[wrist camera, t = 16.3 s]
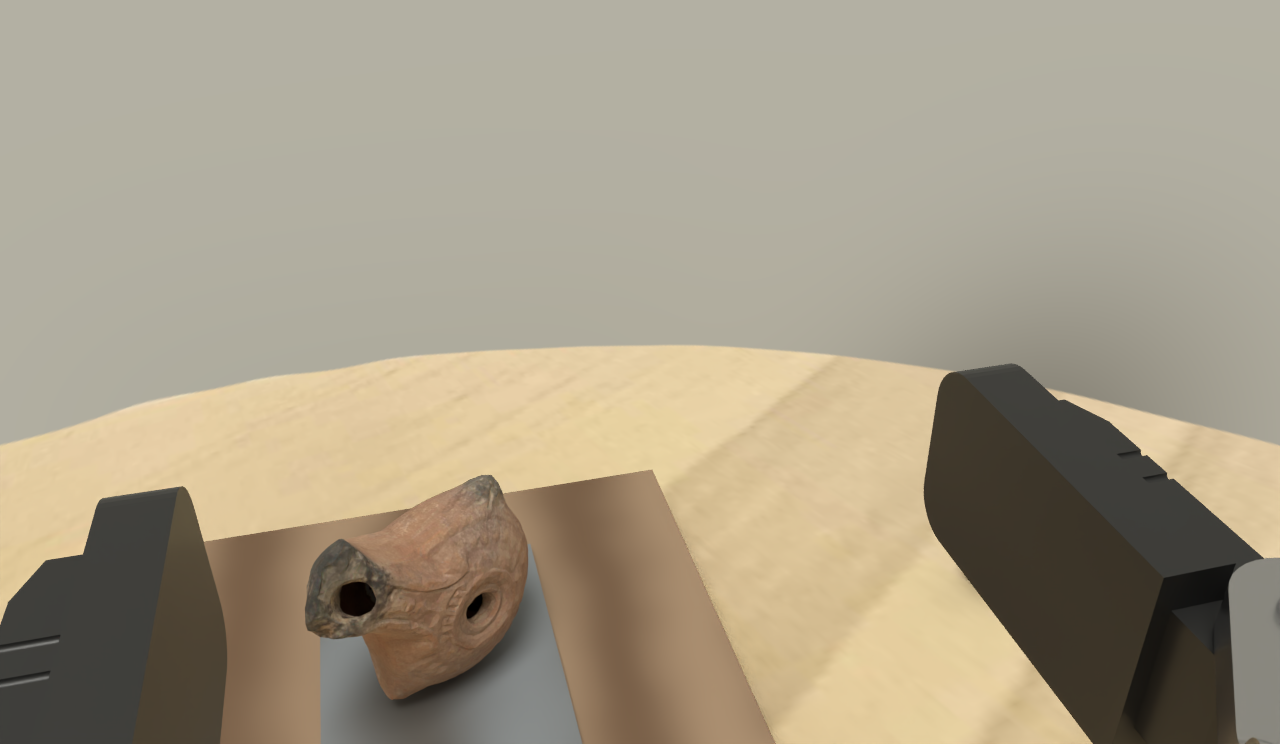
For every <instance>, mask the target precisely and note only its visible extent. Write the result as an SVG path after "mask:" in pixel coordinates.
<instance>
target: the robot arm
mask: <svg viewBox="0 0 1280 744" xmlns="http://www.w3.org/2000/svg"><path fill="white" fill-rule="evenodd" d="M924 502H925V508H926V512H927V516H928V520H929V523H930V525H931V528H932V530H933V532H934V534H935V536H936V537H937V539H938V540H939V542H940V543H941V544H942V546H943V547H944V548H945V550H946V551H947V552H948V554H949V555H950V556H951V558H952V559H953V560H954V562H955V563H956V564H957V565H958V567H959V568H960V569H961V571H962V572H963V573H964V575H965V576H966V577H967V579H968V580H969V581H970V583H971V584H972V585H973V586H974V588H975V589H976V590H977V592H978V593H979V594H980V596H981V597H982V598H983V600H984V601H985V602H986V604H987V605H988V606H989V608H990V609H991V610H992V611H993V613H994V614H995V615H996V617H997V618H998V619H999V621H1000V622H1001V623H1002V625H1003V626H1004V627H1005V629H1006V630H1007V631H1008V633H1009V634H1010V635H1011V636H1012V638H1013V639H1014V640H1015V642H1016V643H1017V644H1018V646H1019V647H1020V648H1021V650H1022V651H1023V652H1024V654H1025V655H1026V656H1027V657H1028V659H1029V660H1030V661H1031V663H1032V664H1033V665H1034V667H1035V668H1036V669H1037V671H1038V672H1039V673H1040V675H1041V676H1042V677H1043V679H1044V680H1045V681H1046V682H1047V684H1048V685H1049V686H1050V688H1051V689H1052V690H1053V692H1054V693H1055V694H1056V696H1057V697H1058V698H1059V700H1060V701H1061V702H1062V704H1063V705H1064V706H1065V707H1066V709H1067V710H1068V711H1069V713H1070V714H1071V715H1072V717H1073V718H1074V719H1075V721H1076V722H1077V723H1078V725H1079V726H1080V727H1081V729H1082V730H1083V731H1084V732H1085V734H1086V735H1087V736H1088V738H1089V739H1090V740H1091V742H1092V743H1093V744H1280V558H1265V559H1264V558H1263V557H1262V556H1261V555H1259V554H1258V553H1257V552H1256V551H1255V550H1254V549H1253V548H1251V547H1250V546H1249V545H1248V544H1247V543H1246V542H1245V541H1244V540H1242V539H1241V538H1240V537H1239V536H1238V535H1237V534H1236V533H1234V532H1233V531H1232V530H1231V529H1230V528H1229V527H1228V526H1227V525H1225V524H1224V523H1223V522H1222V521H1221V520H1220V519H1219V518H1217V517H1216V516H1215V515H1214V514H1213V513H1212V512H1211V511H1210V510H1208V509H1207V508H1206V507H1205V506H1204V505H1203V504H1202V503H1200V502H1199V501H1198V500H1197V499H1196V498H1195V497H1194V496H1193V495H1191V494H1190V493H1189V492H1188V491H1187V490H1186V489H1185V488H1184V487H1182V486H1181V485H1180V484H1179V483H1178V482H1177V481H1176V480H1174V479H1170V480H1169V479H1168V478H1167V472H1165V471H1164V470H1163V469H1162V468H1161V467H1160V466H1159V465H1157V464H1156V463H1155V462H1154V461H1153V460H1152V459H1151V458H1150V457H1148V456H1147V455H1146V456H1142V455H1141V450H1140V449H1139V448H1138V447H1137V446H1136V445H1135V444H1134V443H1133V442H1131V441H1130V440H1129V439H1128V438H1127V437H1126V436H1125V435H1123V434H1122V433H1121V432H1120V431H1119V430H1118V429H1117V428H1116V427H1114V426H1113V425H1112V424H1111V423H1110V422H1109V421H1107V420H1105V419H1103V418H1101V417H1099V416H1097V415H1095V414H1093V413H1091V412H1089V411H1087V410H1085V409H1082V408H1080V407H1078V406H1076V405H1074V404H1072V403H1070V402H1068V401H1066V400H1059V401H1058V400H1057V399H1056V398H1055V397H1054V396H1053V395H1052V394H1051V393H1049V392H1048V391H1047V390H1046V389H1045V388H1044V387H1043V386H1042V385H1041V384H1040V383H1039V382H1037V381H1036V380H1035V379H1034V378H1033V377H1032V376H1031V375H1030V374H1029V373H1027V372H1026V371H1025V370H1024V369H1023V368H1022V367H1020V366H1018V365H1016V364H1005V365H998V366H992V367H985V368H978V369H972V370H965V371H958V372H952V373H949V374H947V375H946V376H945V377H944V378H943V380H942V382H941V384H940V387H939V391H938V396H937V402H936V409H935V415H934V422H933V428H932V435H931V442H930V448H929V455H928V461H927V468H926V475H925V481H924ZM226 674H227V639H226V630H225V622H224V616H223V611H222V607H221V603H220V599H219V595H218V592H217V588H216V585H215V581H214V577H213V574H212V570H211V567H210V563H209V560H208V556H207V552H206V549H205V545H204V542H203V538H202V535H201V531H200V527H199V524H198V520H197V517H196V513H195V510H194V506H193V503H192V500H191V497H190V495H189V493H188V491H187V490H186V488H185V487H183V486H182V487H175V488H168V489H162V490H155V491H148V492H142V493H135V494H128V495H122V496H115V497H108V498H102V499H101V500H100V501H99V503H98V504H97V507H96V510H95V514H94V517H93V521H92V524H91V528H90V532H89V535H88V539H87V542H86V546H85V549H84V553H83V555H77V556H71V557H64V558H58V559H52V560H46V561H45V562H44V563H43V564H42V565H41V566H40V568H39V569H38V570H37V571H36V572H35V573H34V574H33V575H32V576H31V578H30V579H29V580H28V581H27V582H26V583H25V584H24V585H23V586H22V588H21V589H20V590H19V591H18V592H17V593H16V594H15V595H14V596H13V598H12V599H11V600H10V601H9V602H8V605H7V608H6V610H5V613H4V616H3V619H2V622H1V625H0V744H220V738H221V728H222V717H223V706H224V696H225V685H226Z"/></svg>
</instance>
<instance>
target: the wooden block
mask: <svg viewBox="0 0 1280 744" xmlns="http://www.w3.org/2000/svg"><path fill="white" fill-rule="evenodd" d="M503 496H504V498H505V501H506V503H507V505H508V507H509V508H510V509H511V510H512V512H513V513H514V514H515V516H516V517H517V518H518V520H519V521H520V523H521V526H522V529H523V531H524V533H525V536H526V539H527V545H528V574H527V580H526V584H525V587H524V593H523V598H522V601H521V603H520V604H519V609H518V612H517V614H516V616H515V618H514V619H513V621H512V624H511V626H510V628H509V629H508V631H507V632H506V633H505V635H504V637H503V638H502V640H501V641H500V642H499V643H497V645H496V646H495V647H494V648H493V649H492V651H491V652H490V653H489V654H487V655H486V656H485V657H484V658H483V659H482V660H481V661H480V662H479V663H477V664H476V665H475V666H473V667H472V668H470V669H469V670H467V671H465V672H464V673H462V674H459V675H458V676H456V677H454V678H451V679H448V680H447V681H444V682H441V683H438V684H434V685H431V686H427V687H426V688H424V689H422V690H420V691H418V692H416V693H414V694H412V695H410V696H408V697H406V698H404V699H393V700H391V699H389V698H388V697H387V695H386V694H385V693H384V691H383V689H382V688H381V686H380V684H379V681H378V679H377V676H376V672H375V669H374V665H373V662H372V659H371V656H370V653H369V650H368V647H367V645H366V644H365V641H364V639H363V637H362V636H358V637H348V638H343V639H330V638H323V637H319V636H317V635H316V634H314V633H313V632H311V631H308V630H307V627H306V624H305V605H306V600H307V584H308V581H309V576H310V571H311V568H312V565H313V564H314V562H315V560H316V559H317V558H318V556H319V555H320V554H321V553H322V552H323V551H324V550H325V549H326V548H327V547H328V546H330V545H331V544H333V543H334V542H335V541H337V540H338V539H344V540H345V539H348V538H353V537H358V536H362V535H367V534H372V533H376V532H379V531H381V530H383V529H384V528H386V527H387V526H388V525H390V524H391V523H392V522H393V521H394V520H396V519H397V518H398V517H400V516H401V515H403V514H404V513H406V512H407V511H409V510H410V509H405V510H399V511H393V512H387V513H380V514H374V515H368V516H362V517H355V518H349V519H343V520H337V521H331V522H324V523H318V524H312V525H306V526H300V527H293V528H287V529H281V530H275V531H269V532H262V533H256V534H250V535H244V536H237V537H231V538H225V539H219V540H213V541H206V542H204V545H205V549H206V552H207V556H208V560H209V563H210V567H211V570H212V574H213V577H214V581H215V585H216V588H217V592H218V595H219V599H220V603H221V607H222V611H223V616H224V622H225V630H226V639H227V674H226V685H225V696H224V706H223V717H222V728H221V738H220V744H775V742H774V740H773V737H772V735H771V733H770V731H769V728H768V726H767V724H766V722H765V720H764V717H763V715H762V713H761V711H760V708H759V706H758V704H757V702H756V700H755V697H754V695H753V693H752V691H751V688H750V686H749V684H748V682H747V680H746V677H745V675H744V673H743V671H742V668H741V666H740V664H739V662H738V659H737V657H736V655H735V653H734V651H733V648H732V646H731V644H730V642H729V639H728V637H727V635H726V633H725V631H724V628H723V626H722V624H721V622H720V619H719V617H718V615H717V613H716V611H715V608H714V606H713V604H712V602H711V599H710V597H709V595H708V593H707V591H706V588H705V586H704V584H703V582H702V579H701V577H700V575H699V573H698V571H697V568H696V566H695V564H694V562H693V559H692V557H691V555H690V553H689V551H688V548H687V546H686V544H685V542H684V539H683V537H682V535H681V533H680V531H679V528H678V526H677V524H676V522H675V519H674V517H673V515H672V513H671V510H670V508H669V506H668V504H667V502H666V499H665V497H664V495H663V493H662V490H661V488H660V486H659V484H658V482H657V479H656V477H655V475H654V473H653V470H647V471H641V472H635V473H629V474H622V475H616V476H610V477H604V478H598V479H591V480H585V481H579V482H573V483H567V484H560V485H554V486H548V487H542V488H536V489H529V490H523V491H517V492H511V493H504V494H503ZM411 509H412V508H411Z"/></svg>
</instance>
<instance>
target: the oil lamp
mask: <svg viewBox="0 0 1280 744" xmlns="http://www.w3.org/2000/svg"><path fill="white" fill-rule="evenodd" d="M527 574H528V545H527V539H526V536H525V533H524V531H523V529H522V526H521V523H520V521H519V520H518V518H517V517H516V516H515V514H514V513H513V512H512V510H511V509H510V508H509V507H508V505H507V503H506V501H505V498H504V496H503V493H502V490H501V488H500V486H499V484H498V482H497V481H496V480H495V479H494V478H493V477H492V475H481V476H478V477H476V478H473V479H470V480H468V481H467V482H465V483H463V484H462V485H459V486H457V487H455V488H453V489H451V490H448V491H445V492H443V493H441V494H439V495H436V496H434V497H432V498H430V499H428V500H426V501H424V502H422V503H420V504H418V505H417V506H415V507H413V508H412V509H410V510H409V511H407V512H406V513H404V514H403V515H401V516H400V517H398V518H397V519H396V520H394V521H393V522H392V523H391V524H390V525H388V526H387V527H386V528H384V529H383V530H381V531H379V532H376V533H372V534H367V535H362V536H358V537H353V538H348V539H345V540H344V539H338V540H337V541H335V542H334V543H333V544H331V545H330V546H328V547H327V548H326V549H325V550H324V551H323V552H322V553H321V554H320V555H319V556H318V558H317V559H316V560H315V562H314V564H313V565H312V568H311V571H310V576H309V581H308V584H307V600H306V605H305V624H306V627H307V630H308V631H311V632H313V633H314V634H316V635H317V636H319V637H323V638H330V639H343V638H348V637H358V636H362V637H363V639H364V641H365V644H366V645H367V647H368V650H369V653H370V656H371V659H372V662H373V665H374V669H375V672H376V676H377V679H378V681H379V684H380V686H381V688H382V689H383V691H384V693H385V694H386V695H387V697H388V698H389V699H391V700H393V699H404V698H406V697H408V696H410V695H412V694H414V693H416V692H418V691H420V690H422V689H424V688H426V687H427V686H431V685H434V684H438V683H441V682H444V681H447V680H448V679H451V678H454V677H456V676H458V675H459V674H462V673H464V672H465V671H467V670H469V669H470V668H472V667H473V666H475V665H476V664H477V663H479V662H480V661H481V660H482V659H483V658H484V657H485V656H486V655H487V654H489V653H490V652H491V651H492V649H493V648H494V647H495V646H496V645H497V643H499V642H500V641H501V640H502V638H503V637H504V635H505V633H506V632H507V631H508V629H509V628H510V626H511V624H512V621H513V619H514V618H515V616H516V614H517V612H518V609H519V604H520V603H521V601H522V598H523V593H524V587H525V584H526V580H527Z"/></svg>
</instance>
